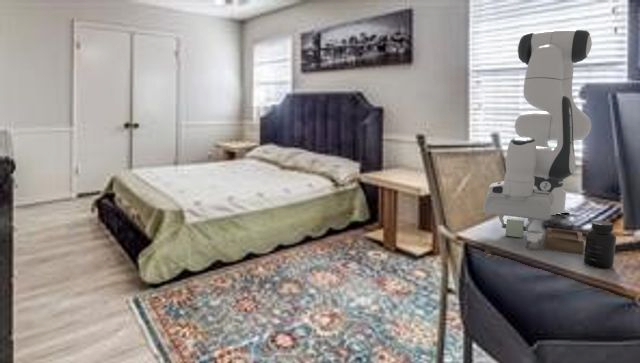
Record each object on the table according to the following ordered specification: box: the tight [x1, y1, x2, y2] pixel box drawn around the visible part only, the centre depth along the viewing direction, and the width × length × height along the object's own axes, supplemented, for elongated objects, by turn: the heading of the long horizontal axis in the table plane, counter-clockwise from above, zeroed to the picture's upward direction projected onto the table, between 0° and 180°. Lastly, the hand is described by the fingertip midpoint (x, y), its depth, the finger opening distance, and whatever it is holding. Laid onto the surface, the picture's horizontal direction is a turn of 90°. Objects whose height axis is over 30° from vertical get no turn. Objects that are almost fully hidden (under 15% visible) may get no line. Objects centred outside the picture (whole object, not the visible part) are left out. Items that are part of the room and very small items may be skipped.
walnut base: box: [544, 227, 585, 255], centre depth 133 cm, size 10×10×4 cm
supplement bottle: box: [583, 219, 617, 270], centre depth 118 cm, size 7×7×12 cm
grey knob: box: [525, 230, 543, 252], centre depth 132 cm, size 4×4×5 cm
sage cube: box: [504, 216, 525, 238], centre depth 143 cm, size 5×5×5 cm
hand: (514, 229), depth 143 cm, fingers closed on sage cube, 5 cm apart
